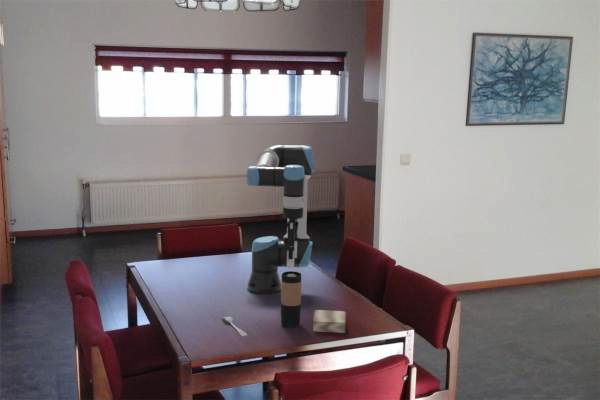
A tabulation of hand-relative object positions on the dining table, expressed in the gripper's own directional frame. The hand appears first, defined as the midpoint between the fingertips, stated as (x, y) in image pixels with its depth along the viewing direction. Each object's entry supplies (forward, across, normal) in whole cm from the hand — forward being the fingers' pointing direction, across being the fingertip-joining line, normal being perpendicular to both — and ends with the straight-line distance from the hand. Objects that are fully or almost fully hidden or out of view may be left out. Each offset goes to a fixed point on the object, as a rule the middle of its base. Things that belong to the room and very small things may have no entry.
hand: (291, 262), depth 239 cm
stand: (+25, 0, -15) cm, 29 cm away
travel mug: (+25, 0, 0) cm, 25 cm away
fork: (+25, -5, +21) cm, 33 cm away
